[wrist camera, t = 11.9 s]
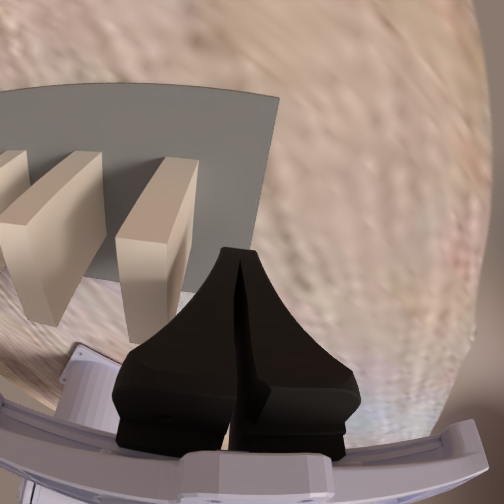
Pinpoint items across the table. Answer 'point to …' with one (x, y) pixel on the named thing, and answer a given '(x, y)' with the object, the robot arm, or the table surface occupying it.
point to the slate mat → (152, 153)
